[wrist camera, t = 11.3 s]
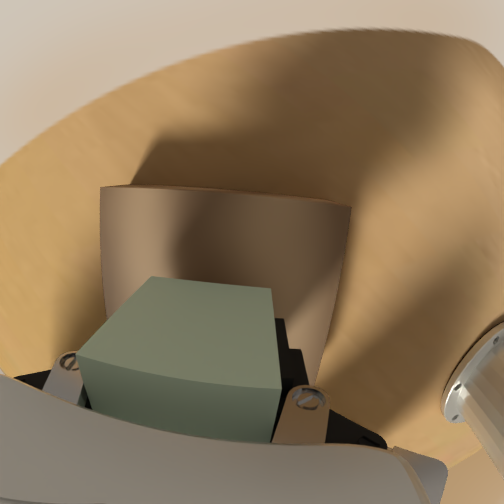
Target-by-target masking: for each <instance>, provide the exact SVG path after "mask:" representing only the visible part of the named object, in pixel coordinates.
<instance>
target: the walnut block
mask: <svg viewBox="0 0 504 504" xmlns="http://www.w3.org/2000/svg"><path fill="white" fill-rule="evenodd" d="M351 208H352V207H349V206H346V205H343V204H340V203H337V202H334V201H330V200H322V199H315V198H307V197H299V196H290V195H281V194H272V193H262V192H251V191H240V190H228V189H215V188H201V187H184V186H164V185H135V184H129V185H118V186H108V187H100V246H101V265H102V279H103V290H104V300H105V308H106V316H107V320H108V319H109V318H110V317H111V316H112V315H113V314H114V313H115V312H116V311H117V310H118V309H119V308H120V307H121V306H122V305H123V304H124V303H125V302H126V301H127V299H128V298H129V297H130V296H131V295H132V294H133V293H135V292H136V291H137V290H138V289H139V288H140V287H141V286H142V285H143V284H144V283H145V282H146V281H147V280H148V279H149V278H150V277H151V276H157V277H165V278H173V279H182V280H191V281H200V282H209V283H219V284H229V285H239V286H250V287H261V288H271V292H272V301H273V310H274V318H283V319H284V321H285V327H286V332H287V338H288V344H289V348H291V349H301V351H302V354H303V359H304V363H305V367H306V372H307V376H308V381H309V385H312V386H314V384H315V381H316V377H317V374H318V370H319V366H320V363H321V359H322V355H323V351H324V347H325V343H326V339H327V335H328V331H329V327H330V323H331V318H332V314H333V310H334V305H335V300H336V296H337V291H338V286H339V281H340V276H341V270H342V265H343V259H344V254H345V248H346V242H347V235H348V229H349V222H350V215H351Z"/></svg>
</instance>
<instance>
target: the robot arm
mask: <svg viewBox="0 0 504 504" xmlns="http://www.w3.org/2000/svg"><path fill="white" fill-rule="evenodd" d="M274 319H275V328H276V338H277V347H278V357H279V366H280V376H281V386H282V390H281V395H280V400H279V404H278V409H277V413H276V418H275V422H274V426H273V431H272V435H271V439H270V443H268V442H251V441H239V440H228V439H219V438H211V437H204V436H198V435H191V434H185V433H180V432H174V431H169V430H164V429H160V428H155V427H151V426H146V425H142V424H138V423H134V422H131V421H127V420H123V419H120V418H116V417H113V416H110V415H106V414H103V413H100V412H97V411H94V410H93V409H92V407H91V404H90V401H89V398H88V395H87V392H86V389H85V386H84V383H83V380H82V376H81V373H80V370H79V366H78V362H77V359H76V355H75V354H76V353H77V352H78V351H69V352H66V353H63V354H62V355H60V356H59V357H58V358H57V360H56V362H55V364H54V366H53V368H52V370H47V371H42V372H37V373H32V374H27V375H22V376H17V377H14V378H11V377H9V376H6V375H2V374H0V504H440V500H441V497H442V494H443V491H444V487H445V483H446V480H447V476H448V470H447V467H446V465H445V464H444V463H443V462H442V461H439V460H437V459H434V458H431V457H427V456H424V455H421V454H417V453H414V452H411V451H408V450H405V449H402V448H399V447H396V446H394V448H393V449H392V448H389V447H387V444H386V441H385V440H384V439H383V438H382V437H381V436H379V435H378V434H376V433H374V432H372V431H370V430H368V429H366V428H364V427H362V426H360V425H358V424H356V423H354V422H353V421H351V420H349V419H347V418H345V417H343V416H341V415H340V414H338V413H336V412H334V411H332V410H331V409H329V408H330V398H329V396H328V394H327V393H326V392H325V391H324V390H322V389H320V388H318V387H315V386H312V385H309V381H308V376H307V372H306V367H305V363H304V359H303V354H302V351H301V349H291V348H289V344H288V338H287V332H286V327H285V321H284V319H283V318H274ZM441 411H442V414H443V415H444V417H445V418H446V420H447V421H449V422H450V423H461V422H465V421H466V422H467V424H468V425H469V427H470V428H471V429H472V431H473V432H474V434H475V435H476V437H477V438H478V440H479V441H480V443H481V444H482V446H483V447H484V449H485V450H486V452H487V454H488V455H489V457H490V458H491V460H492V461H493V463H494V465H495V466H496V468H497V470H498V471H499V473H500V475H501V476H502V478H503V479H504V322H503V323H500V324H499V325H497V326H496V327H494V328H493V329H491V330H490V331H489V332H488V333H487V334H485V335H484V336H483V337H482V338H481V339H480V340H479V341H478V342H477V343H476V344H475V345H474V346H473V348H472V349H471V350H470V351H469V352H468V353H467V355H466V356H465V357H464V359H463V360H462V361H461V362H460V364H459V365H458V367H457V368H456V370H455V371H454V373H453V374H452V376H451V378H450V380H449V382H448V384H447V386H446V388H445V391H444V393H443V396H442V400H441Z"/></svg>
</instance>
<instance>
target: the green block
mask: <svg viewBox="0 0 504 504" xmlns="http://www.w3.org/2000/svg"><path fill="white" fill-rule="evenodd" d="M75 355H76V359H77V362H78V366H79V370H80V373H81V376H82V380H83V383H84V386H85V389H86V392H87V395H88V398H89V401H90V404H91V407H92V409H93V410H94V411H97V412H100V413H103V414H106V415H110V416H113V417H116V418H120V419H123V420H127V421H131V422H134V423H138V424H142V425H146V426H151V427H155V428H160V429H164V430H169V431H174V432H180V433H185V434H191V435H198V436H204V437H211V438H219V439H228V440H239V441H251V442H268V443H270V439H271V435H272V431H273V426H274V422H275V418H276V413H277V409H278V404H279V400H280V395H281V390H282V386H281V376H280V366H279V357H278V347H277V338H276V328H275V319H274V310H273V301H272V292H271V288H261V287H250V286H239V285H229V284H219V283H209V282H200V281H191V280H182V279H173V278H165V277H157V276H151V277H150V278H149V279H148V280H147V281H146V282H145V283H144V284H143V285H142V286H141V287H140V288H139V289H138V290H137V291H136V292H135V293H133V294H132V295H131V296H130V297H129V298H128V299H127V301H126V302H125V303H124V304H123V305H122V306H121V307H120V308H119V309H118V310H117V311H116V312H115V313H114V314H113V315H112V316H111V317H110V318H109V319H108V320H107V321H106V322H105V323H104V324H103V325H102V326H101V327H100V328H99V329H98V330H97V331H96V332H95V334H94V335H93V336H92V337H91V338H90V339H89V340H88V341H87V342H86V343H85V344H84V345H83V346H82V347H81V349H80V350H79V351H78V352H77V353H76V354H75Z"/></svg>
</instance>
